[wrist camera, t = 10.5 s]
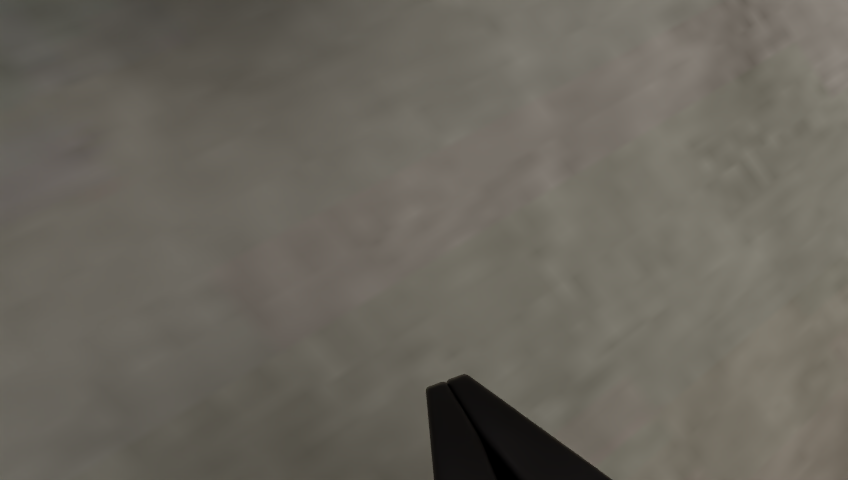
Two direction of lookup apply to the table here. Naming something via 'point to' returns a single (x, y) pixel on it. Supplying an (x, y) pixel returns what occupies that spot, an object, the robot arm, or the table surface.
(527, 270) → the table surface
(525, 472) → the robot arm
